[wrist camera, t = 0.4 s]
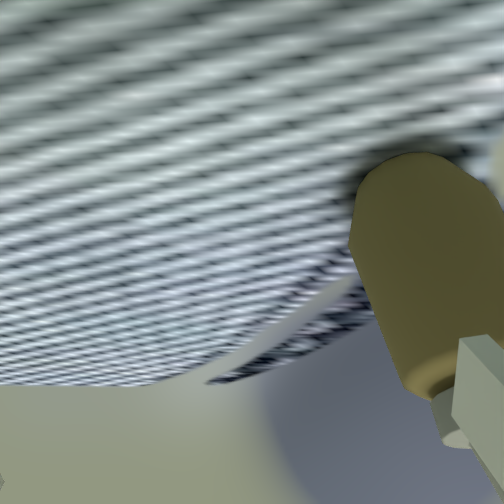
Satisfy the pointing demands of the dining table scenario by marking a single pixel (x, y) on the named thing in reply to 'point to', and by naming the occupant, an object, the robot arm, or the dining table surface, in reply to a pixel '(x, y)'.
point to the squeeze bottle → (430, 272)
